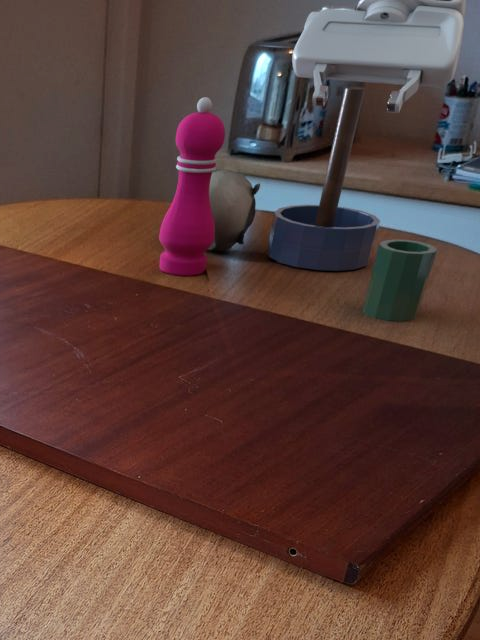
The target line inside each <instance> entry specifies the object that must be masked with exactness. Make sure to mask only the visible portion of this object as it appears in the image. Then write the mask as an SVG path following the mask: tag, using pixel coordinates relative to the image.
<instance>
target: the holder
mask: <svg viewBox="0 0 480 640" xmlns="http://www.w3.org/2000/svg"><path fill="white" fill-rule="evenodd" d="M437 251H438V249H437V248H436V247H435V246H434V245H432V244H429V243H426V242H422V241H417V240H412V239H411V240H410V239H388V240H383V241H381V242H380V243H379V244H378V247H377V251H376V255H375V258H374V262H373V266H372V270H371V273H370V278H369V282H368V284H367V289H366V293H365V295H364V300H363V303H362V307H361V310H362V312H363V313H364V314H365V315H366V316H367V317H370V318H372V319H376V320H380V321H386V322H399V323H402V322H410V321H413V320H415V319H416V318H417V316H418V314H419V311H420V307H421V304H422V301H423V298H424V294H425V292H426V287H427V285H428V281H429V278H430V274H431V271H432V269H433V265H434V261H435V258H436V255H437Z"/></svg>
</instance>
